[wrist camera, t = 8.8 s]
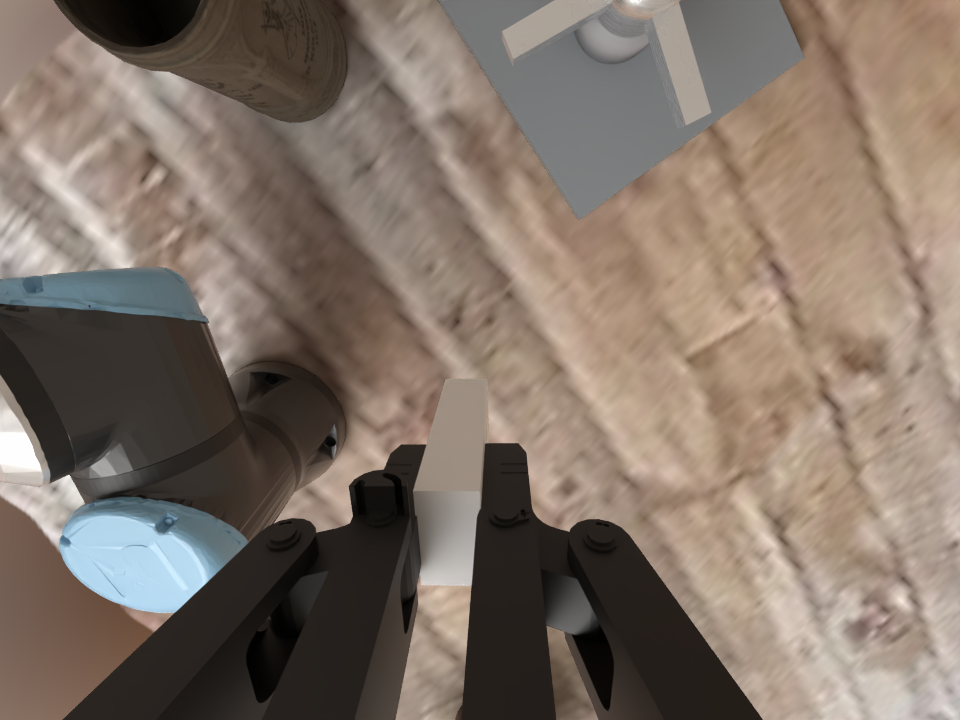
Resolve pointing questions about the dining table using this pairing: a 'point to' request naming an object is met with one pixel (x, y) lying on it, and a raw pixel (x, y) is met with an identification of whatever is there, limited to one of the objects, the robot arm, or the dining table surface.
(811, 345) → the dining table surface
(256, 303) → the dining table surface
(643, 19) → the capstan
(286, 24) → the beer stein
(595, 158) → the stand
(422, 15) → the dining table surface
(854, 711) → the dining table surface
